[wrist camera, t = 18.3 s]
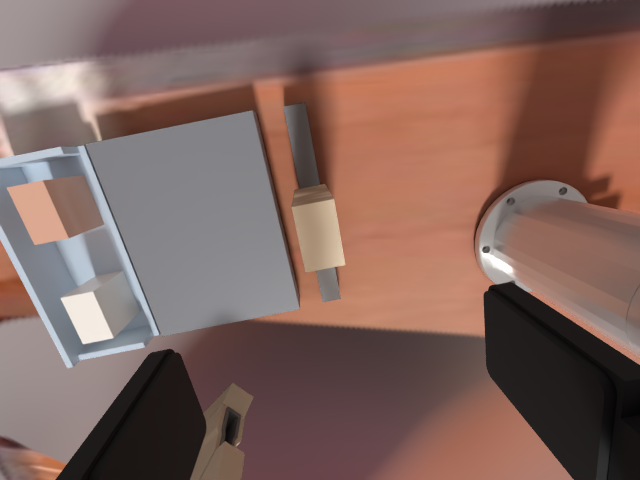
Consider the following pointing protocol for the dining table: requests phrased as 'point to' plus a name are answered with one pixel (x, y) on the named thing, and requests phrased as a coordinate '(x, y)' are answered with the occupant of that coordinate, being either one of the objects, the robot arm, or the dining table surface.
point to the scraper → (313, 208)
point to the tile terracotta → (56, 208)
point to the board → (200, 221)
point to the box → (69, 255)
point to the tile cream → (101, 307)
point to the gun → (223, 437)
